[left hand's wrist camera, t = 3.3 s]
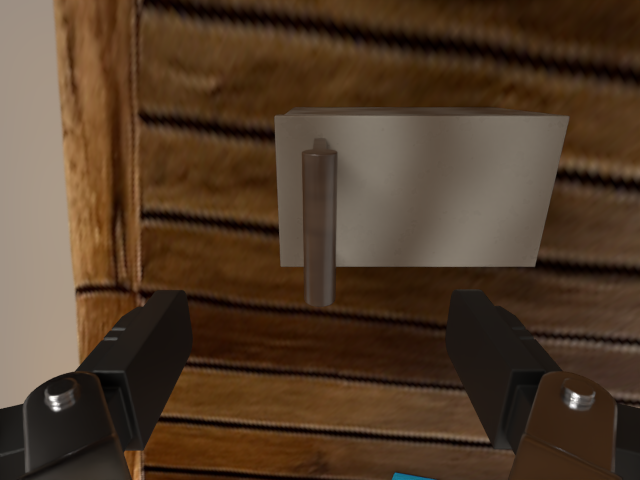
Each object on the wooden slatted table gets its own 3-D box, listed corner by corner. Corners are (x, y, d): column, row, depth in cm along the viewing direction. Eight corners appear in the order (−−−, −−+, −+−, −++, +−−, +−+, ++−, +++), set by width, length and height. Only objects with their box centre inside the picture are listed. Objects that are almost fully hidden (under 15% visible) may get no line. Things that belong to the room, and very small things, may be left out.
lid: (282, 260, 27) (267, 325, 19) (276, 114, 23) (255, 127, 16) (526, 260, 27) (605, 326, 19) (558, 114, 23) (671, 127, 16)
